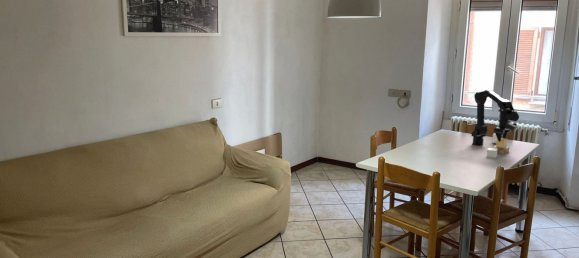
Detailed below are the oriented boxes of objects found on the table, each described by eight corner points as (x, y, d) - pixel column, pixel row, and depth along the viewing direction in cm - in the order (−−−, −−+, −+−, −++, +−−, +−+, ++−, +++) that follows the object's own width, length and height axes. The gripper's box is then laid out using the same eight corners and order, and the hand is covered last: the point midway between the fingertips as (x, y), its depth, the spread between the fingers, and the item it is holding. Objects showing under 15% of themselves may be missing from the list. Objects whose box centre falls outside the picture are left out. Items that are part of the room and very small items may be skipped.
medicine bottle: (499, 144, 347) (500, 129, 344) (491, 142, 353) (493, 127, 351) (506, 143, 350) (507, 128, 347) (498, 141, 356) (500, 126, 354)
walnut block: (491, 152, 324) (492, 147, 324) (495, 150, 331) (495, 145, 330) (505, 154, 319) (506, 149, 318) (508, 152, 326) (509, 146, 325)
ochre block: (496, 147, 324) (496, 138, 323) (499, 145, 328) (499, 137, 327) (503, 148, 321) (504, 139, 320) (506, 147, 324) (507, 138, 323)
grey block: (486, 156, 313) (487, 149, 312) (487, 154, 318) (488, 147, 317) (496, 157, 310) (496, 150, 309) (496, 155, 315) (497, 148, 314)
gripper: (511, 122, 308) (509, 144, 311) (520, 118, 321) (518, 140, 324) (494, 119, 316) (492, 142, 319) (504, 116, 329) (502, 137, 332)
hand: (501, 140), depth 323 cm, fingers open, 9 cm apart
